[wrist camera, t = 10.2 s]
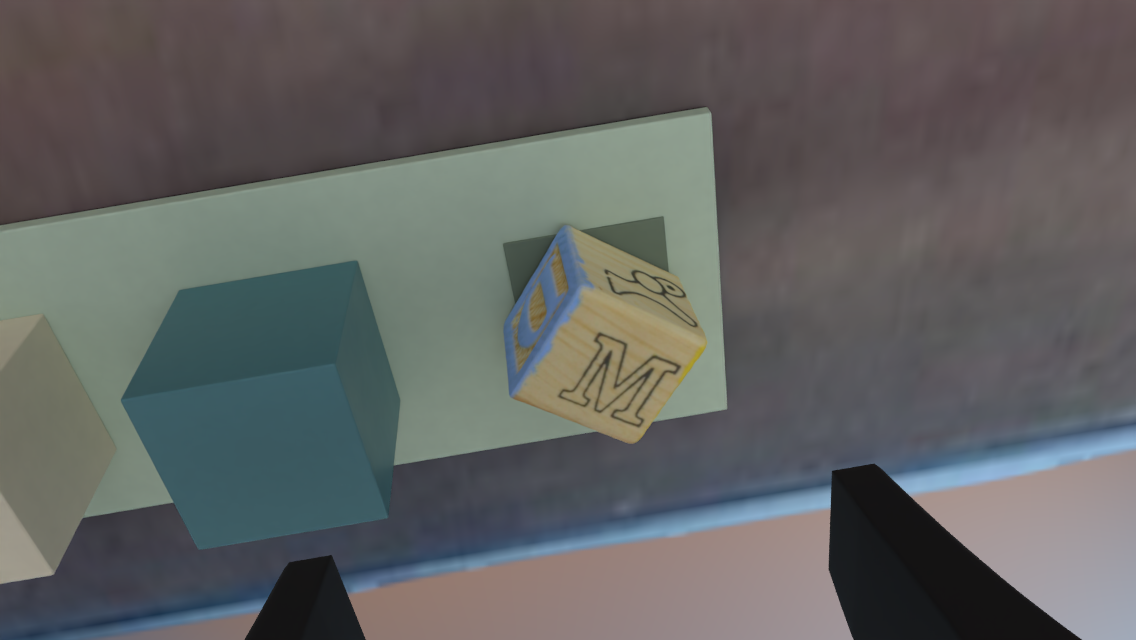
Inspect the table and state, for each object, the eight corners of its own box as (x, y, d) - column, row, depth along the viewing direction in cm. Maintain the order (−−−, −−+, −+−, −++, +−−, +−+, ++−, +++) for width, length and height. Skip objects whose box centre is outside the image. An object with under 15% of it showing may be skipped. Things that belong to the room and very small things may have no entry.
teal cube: (239, 428, 22) (197, 551, 19) (178, 289, 20) (118, 399, 16) (401, 401, 22) (388, 519, 19) (357, 259, 20) (335, 363, 16)
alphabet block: (565, 215, 20) (580, 286, 17) (683, 272, 21) (713, 347, 18) (500, 322, 21) (504, 402, 18) (614, 370, 22) (632, 452, 19)
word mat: (-36, 528, 23) (-45, 541, 23) (-226, 262, 19) (-241, 273, 19) (724, 400, 23) (728, 411, 23) (707, 106, 19) (712, 113, 19)
